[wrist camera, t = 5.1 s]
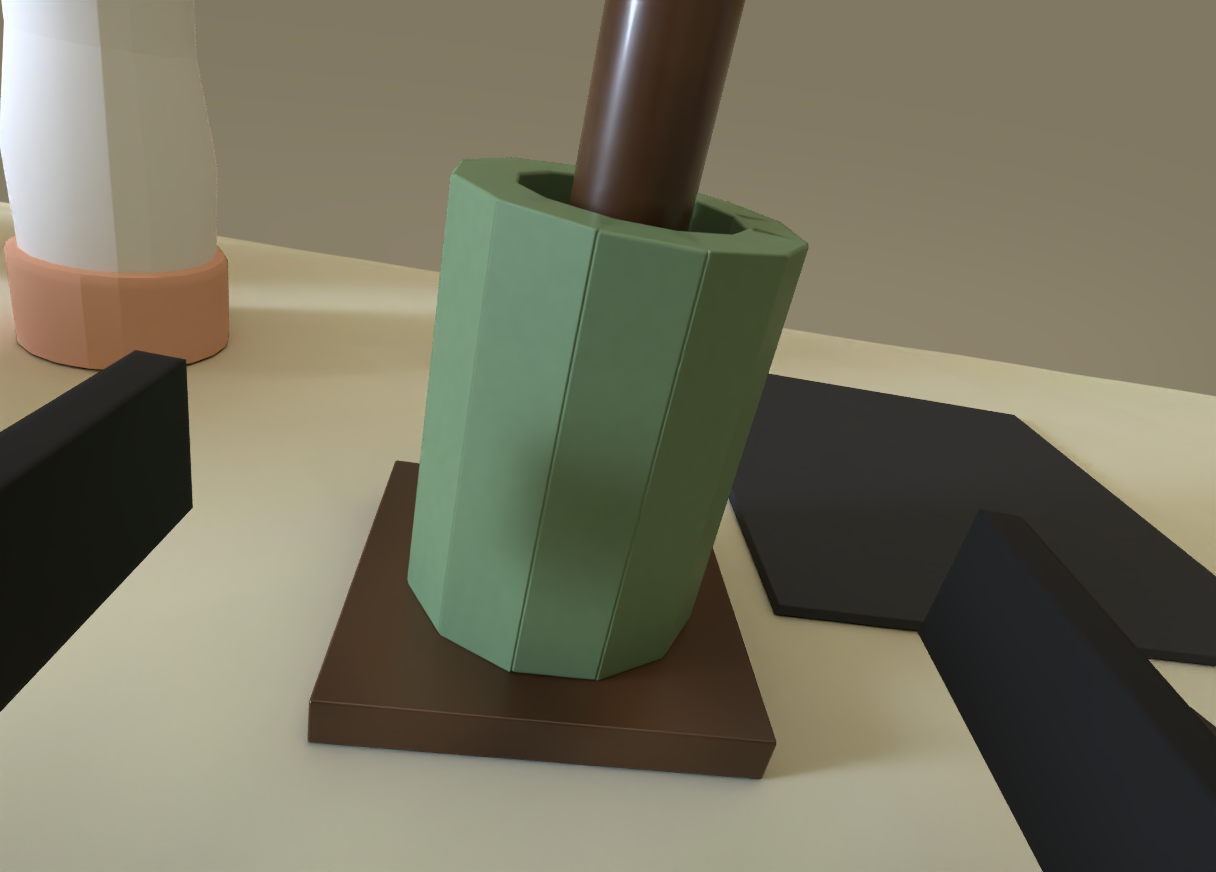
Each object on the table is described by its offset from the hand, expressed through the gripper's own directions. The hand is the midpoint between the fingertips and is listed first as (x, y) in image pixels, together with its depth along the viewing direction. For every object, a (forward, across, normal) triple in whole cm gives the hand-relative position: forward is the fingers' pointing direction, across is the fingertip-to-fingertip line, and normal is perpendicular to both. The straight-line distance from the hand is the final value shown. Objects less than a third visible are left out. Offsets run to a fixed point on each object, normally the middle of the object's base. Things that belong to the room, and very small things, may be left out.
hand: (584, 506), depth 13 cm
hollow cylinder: (+6, 0, -6) cm, 8 cm away
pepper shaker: (+18, -18, -7) cm, 27 cm away
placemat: (+18, +16, -7) cm, 25 cm away
